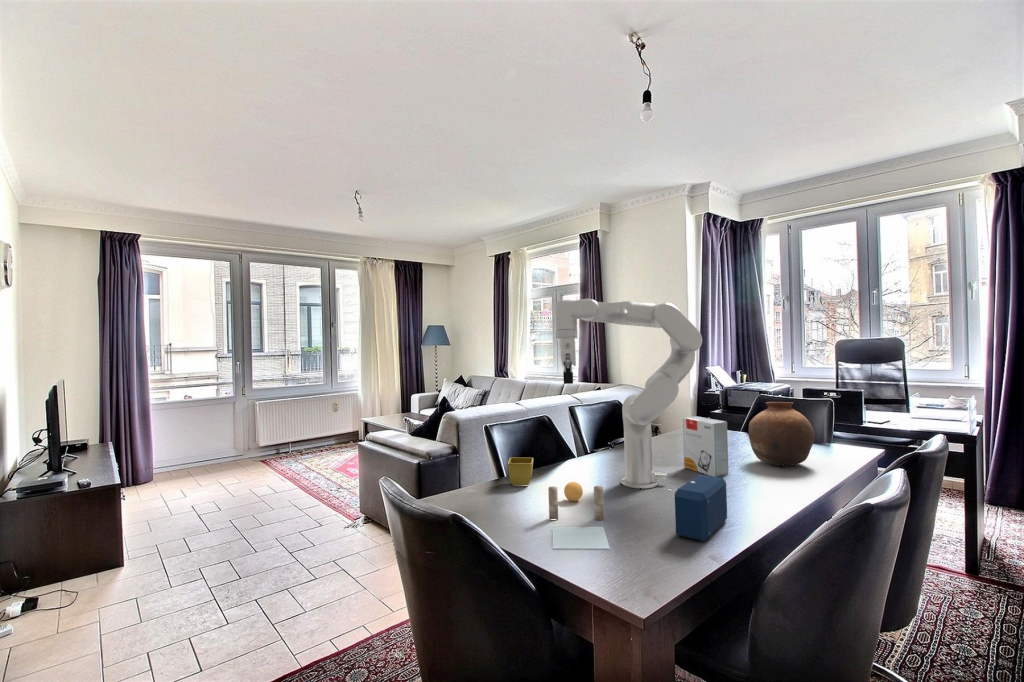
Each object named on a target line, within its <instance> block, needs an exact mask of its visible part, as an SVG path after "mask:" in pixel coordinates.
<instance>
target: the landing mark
mask: <svg viewBox="0 0 1024 682" xmlns="http://www.w3.org/2000/svg"><path fill="white" fill-rule="evenodd" d="M551 532H552V533H551V534H552V550H611V549H610V544H609V542H608V537H607V535H606V531H605V528H604V526H562V527H561V526H552V531H551Z"/></svg>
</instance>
